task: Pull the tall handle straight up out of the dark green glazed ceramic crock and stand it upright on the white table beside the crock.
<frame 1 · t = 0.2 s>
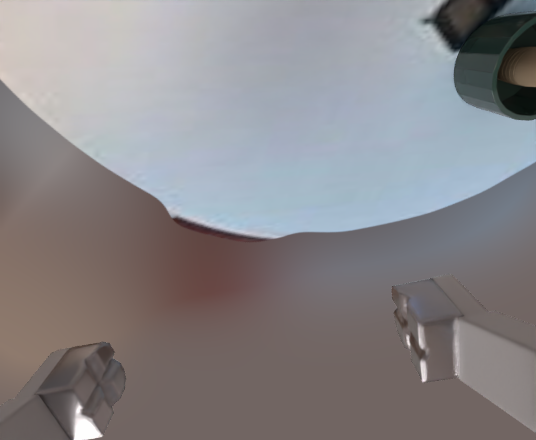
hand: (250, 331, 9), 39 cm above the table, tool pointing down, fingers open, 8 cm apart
crock: (496, 63, 42), on the table
handle: (497, 63, 42), resting on crock
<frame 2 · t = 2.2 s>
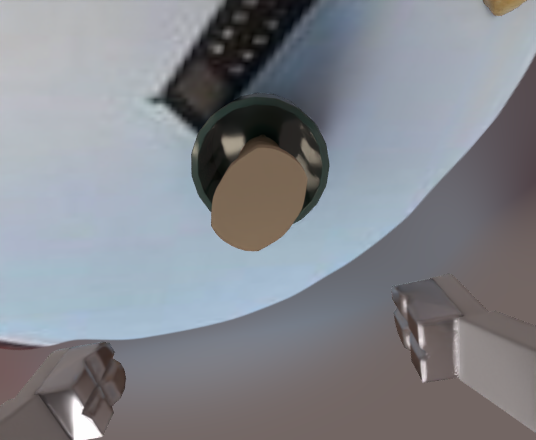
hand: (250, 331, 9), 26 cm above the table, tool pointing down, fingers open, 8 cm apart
crock: (261, 150, 33), on the table
handle: (261, 150, 33), resting on crock
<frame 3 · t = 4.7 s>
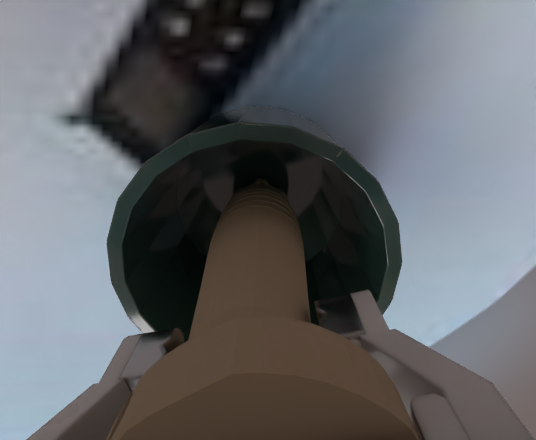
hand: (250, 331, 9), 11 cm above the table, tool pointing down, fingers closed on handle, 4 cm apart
crock: (259, 201, 20), on the table
handle: (259, 202, 19), resting on crock, touching gripper
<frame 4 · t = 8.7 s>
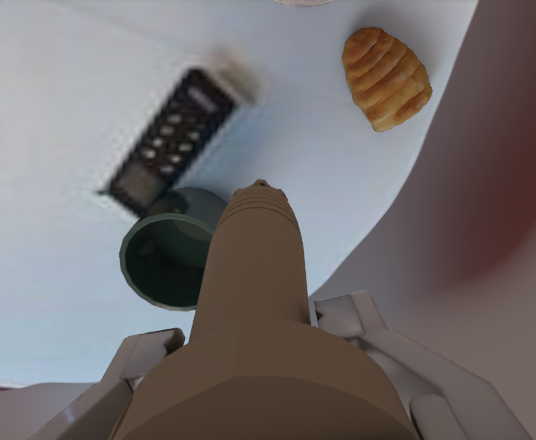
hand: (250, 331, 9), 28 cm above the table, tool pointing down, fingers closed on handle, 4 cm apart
pastry: (379, 83, 33), on the table
crock: (193, 230, 39), on the table
handle: (259, 203, 19), point 17 cm above the table, touching gripper
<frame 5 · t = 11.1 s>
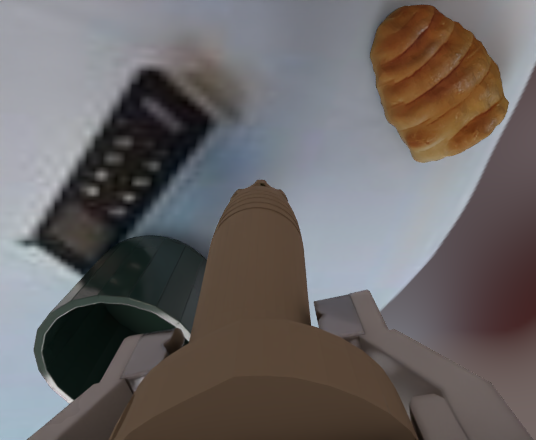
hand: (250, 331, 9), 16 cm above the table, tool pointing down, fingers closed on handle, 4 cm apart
pastry: (422, 91, 22), on the table
crock: (158, 291, 28), on the table
handle: (259, 203, 19), point 6 cm above the table, touching gripper
when the fingers open (11 cm above the table, at t = 12.9 s): handle stays where it is, on the table.
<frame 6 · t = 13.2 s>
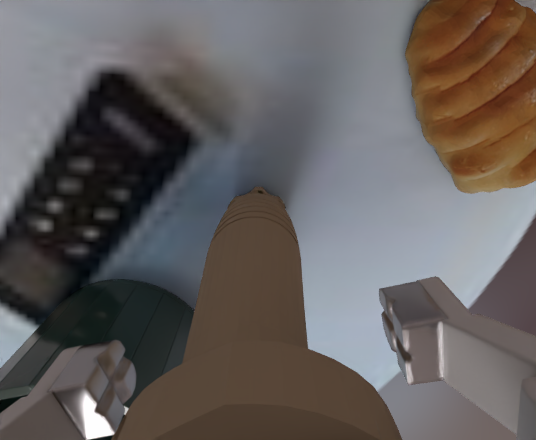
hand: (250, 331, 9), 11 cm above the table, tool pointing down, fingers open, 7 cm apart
pastry: (469, 101, 17), on the table
crock: (132, 344, 23), on the table
handle: (257, 210, 19), on the table
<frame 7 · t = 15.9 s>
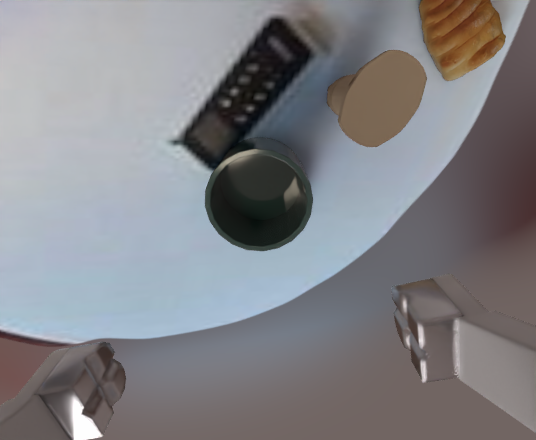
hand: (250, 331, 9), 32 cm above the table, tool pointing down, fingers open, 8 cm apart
pastry: (450, 34, 35), on the table
crock: (260, 181, 40), on the table
handle: (339, 95, 37), on the table
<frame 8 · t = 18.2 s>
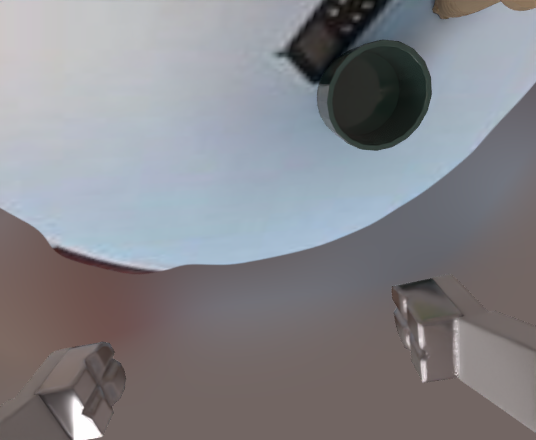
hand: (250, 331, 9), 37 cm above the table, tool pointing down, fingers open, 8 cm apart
crock: (359, 95, 42), on the table
handle: (444, 3, 38), on the table
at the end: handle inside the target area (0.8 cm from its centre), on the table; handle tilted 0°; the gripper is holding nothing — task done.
